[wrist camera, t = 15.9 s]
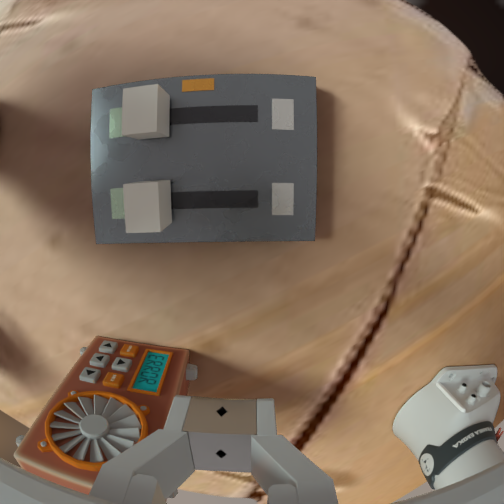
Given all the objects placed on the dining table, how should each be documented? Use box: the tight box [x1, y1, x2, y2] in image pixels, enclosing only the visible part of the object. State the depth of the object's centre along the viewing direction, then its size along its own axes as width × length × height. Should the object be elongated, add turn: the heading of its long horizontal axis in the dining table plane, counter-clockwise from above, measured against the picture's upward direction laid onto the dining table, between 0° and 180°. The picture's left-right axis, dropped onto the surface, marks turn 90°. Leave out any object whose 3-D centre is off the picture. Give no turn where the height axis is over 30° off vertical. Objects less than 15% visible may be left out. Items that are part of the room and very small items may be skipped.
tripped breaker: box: [122, 84, 170, 139], centre depth 24 cm, size 3×4×4 cm
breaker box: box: [91, 74, 317, 244], centre depth 29 cm, size 22×16×3 cm
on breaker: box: [123, 180, 172, 233], centre depth 26 cm, size 3×4×4 cm
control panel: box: [14, 336, 197, 501], centre depth 26 cm, size 21×7×15 cm
